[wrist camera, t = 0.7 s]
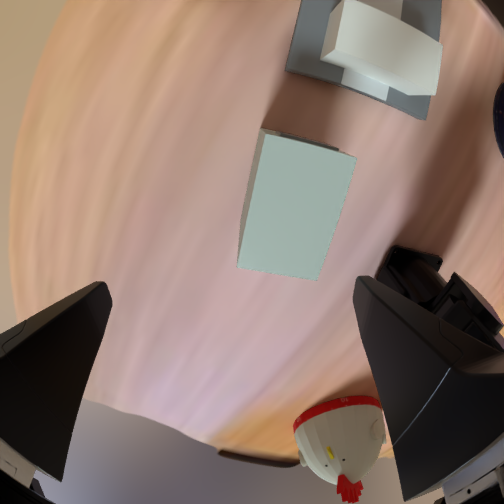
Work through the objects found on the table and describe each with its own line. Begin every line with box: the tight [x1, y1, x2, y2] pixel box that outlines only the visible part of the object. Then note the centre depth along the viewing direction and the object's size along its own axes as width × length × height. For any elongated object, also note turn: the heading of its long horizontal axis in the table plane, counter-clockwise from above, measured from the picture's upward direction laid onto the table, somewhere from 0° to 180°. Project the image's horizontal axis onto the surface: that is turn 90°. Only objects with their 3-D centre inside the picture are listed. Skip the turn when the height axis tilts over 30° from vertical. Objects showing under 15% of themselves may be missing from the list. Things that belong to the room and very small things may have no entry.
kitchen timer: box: [293, 396, 386, 503], centre depth 29 cm, size 14×14×15 cm
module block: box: [237, 128, 357, 281], centre depth 17 cm, size 4×7×7 cm, turn 168°
